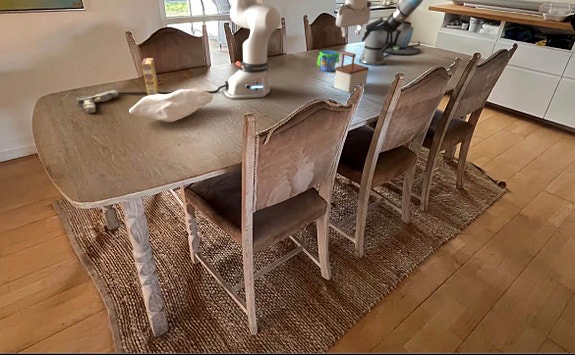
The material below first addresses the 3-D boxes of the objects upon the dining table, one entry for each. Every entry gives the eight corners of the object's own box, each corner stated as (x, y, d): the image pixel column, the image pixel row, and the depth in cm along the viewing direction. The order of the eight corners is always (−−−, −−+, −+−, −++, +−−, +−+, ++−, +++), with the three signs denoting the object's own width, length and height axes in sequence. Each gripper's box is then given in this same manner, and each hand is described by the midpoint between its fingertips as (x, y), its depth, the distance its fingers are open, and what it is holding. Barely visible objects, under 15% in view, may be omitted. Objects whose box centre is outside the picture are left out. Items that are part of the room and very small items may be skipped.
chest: (348, 92, 179) (350, 74, 175) (334, 87, 185) (335, 69, 180) (365, 87, 187) (368, 69, 182) (351, 82, 193) (353, 65, 188)
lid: (349, 74, 174) (351, 55, 169) (334, 69, 180) (336, 51, 175) (368, 69, 182) (371, 51, 178) (353, 65, 188) (355, 47, 183)
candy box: (157, 97, 164) (152, 63, 155) (147, 98, 163) (141, 63, 155) (158, 91, 171) (153, 57, 163) (149, 91, 170) (143, 58, 162)
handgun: (128, 97, 156) (111, 87, 164) (86, 107, 144) (70, 97, 152) (129, 103, 157) (113, 94, 165) (88, 114, 146) (72, 103, 154)
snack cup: (332, 66, 217) (333, 48, 212) (343, 70, 210) (345, 52, 204) (311, 69, 210) (312, 51, 204) (322, 74, 202) (324, 55, 197)
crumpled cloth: (117, 110, 146) (113, 90, 140) (195, 92, 166) (194, 73, 160) (143, 139, 134) (140, 118, 128) (223, 116, 154) (224, 96, 148)
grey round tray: (430, 51, 257) (433, 37, 253) (397, 56, 240) (399, 42, 235) (392, 44, 282) (394, 31, 277) (360, 48, 264) (361, 35, 260)
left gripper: (345, 5, 155) (341, 39, 162) (374, 2, 166) (369, 34, 174) (334, 3, 158) (331, 36, 166) (363, 1, 170) (359, 32, 178)
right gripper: (378, 9, 185) (353, 39, 202) (416, 33, 193) (389, 60, 210) (378, 1, 189) (354, 31, 206) (415, 25, 197) (389, 51, 214)
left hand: (350, 35), depth 170 cm, fingers open, 8 cm apart
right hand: (372, 45), depth 208 cm, fingers open, 13 cm apart
